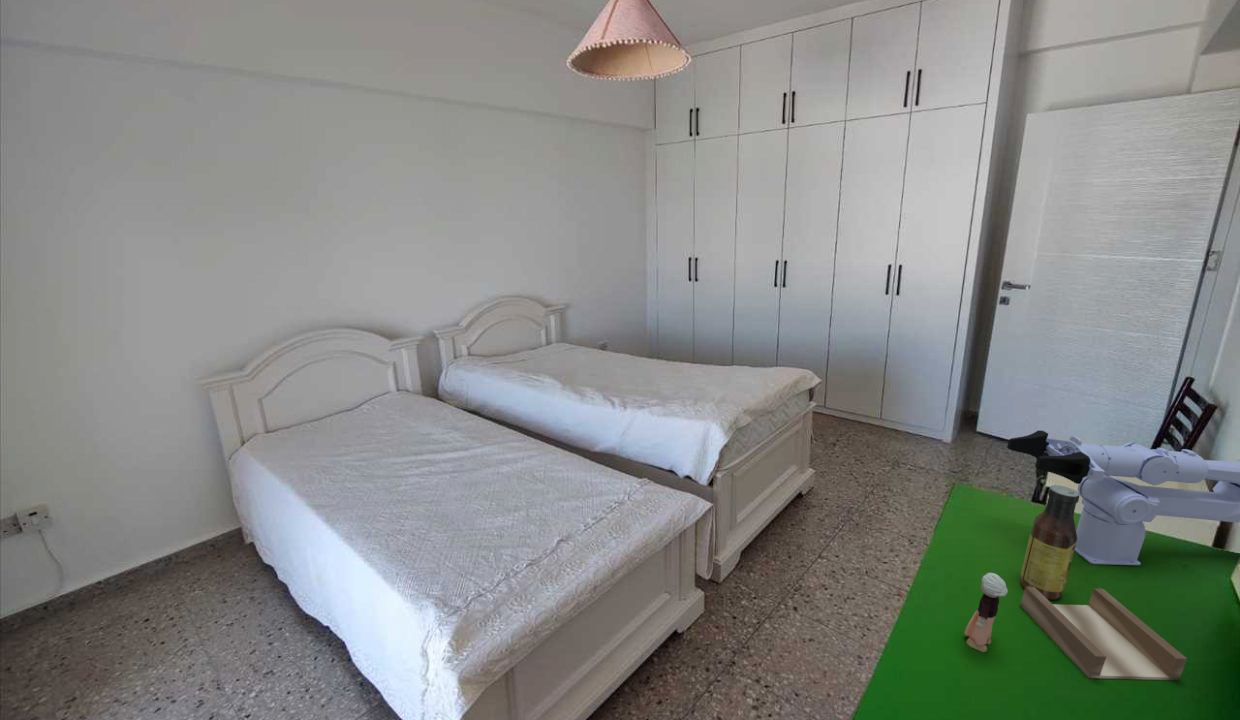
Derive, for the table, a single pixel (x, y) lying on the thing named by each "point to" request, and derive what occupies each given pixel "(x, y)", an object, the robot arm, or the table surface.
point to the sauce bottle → (1051, 544)
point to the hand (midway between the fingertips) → (1023, 452)
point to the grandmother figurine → (985, 612)
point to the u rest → (1105, 638)
